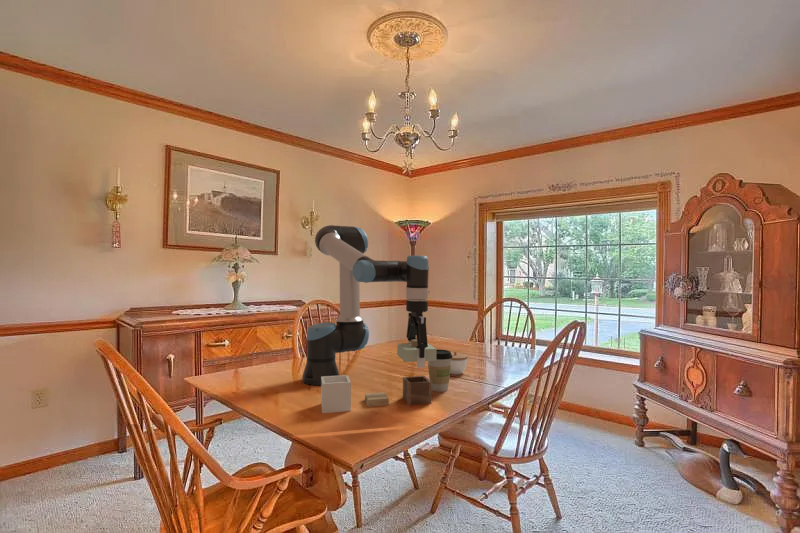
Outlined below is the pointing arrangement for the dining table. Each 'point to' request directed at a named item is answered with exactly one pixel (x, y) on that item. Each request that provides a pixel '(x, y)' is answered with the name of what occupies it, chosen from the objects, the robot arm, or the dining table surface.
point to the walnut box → (416, 390)
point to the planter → (335, 394)
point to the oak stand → (376, 399)
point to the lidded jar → (458, 363)
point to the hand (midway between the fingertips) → (416, 363)
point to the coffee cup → (440, 370)
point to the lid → (414, 351)
